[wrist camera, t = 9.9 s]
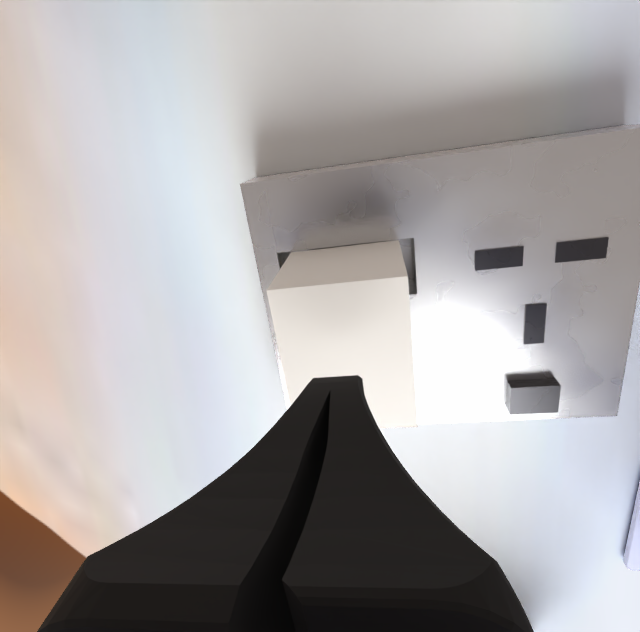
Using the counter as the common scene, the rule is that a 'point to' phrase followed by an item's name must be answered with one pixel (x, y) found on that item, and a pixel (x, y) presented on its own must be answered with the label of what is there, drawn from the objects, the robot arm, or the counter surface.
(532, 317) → the socket
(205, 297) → the counter surface
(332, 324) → the plug
